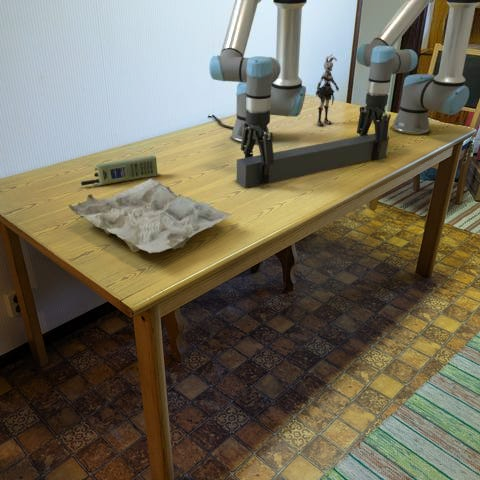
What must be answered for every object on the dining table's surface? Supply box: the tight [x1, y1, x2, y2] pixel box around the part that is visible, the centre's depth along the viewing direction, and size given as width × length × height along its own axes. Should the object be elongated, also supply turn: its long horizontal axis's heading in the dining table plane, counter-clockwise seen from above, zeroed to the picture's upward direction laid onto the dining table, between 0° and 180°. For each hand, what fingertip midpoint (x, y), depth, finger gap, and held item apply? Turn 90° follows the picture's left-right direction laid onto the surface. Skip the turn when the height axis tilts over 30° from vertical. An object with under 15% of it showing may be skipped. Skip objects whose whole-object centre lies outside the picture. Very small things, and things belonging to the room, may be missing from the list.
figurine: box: [315, 53, 340, 127], centre depth 218 cm, size 15×6×30 cm, turn 132°
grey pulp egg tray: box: [68, 178, 232, 254], centre depth 138 cm, size 38×6×30 cm
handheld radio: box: [80, 155, 159, 187], centre depth 164 cm, size 7×3×25 cm
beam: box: [236, 133, 390, 188], centre depth 176 cm, size 61×6×8 cm, turn 119°
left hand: (256, 178), depth 167 cm, fingers open, 9 cm apart
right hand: (368, 156), depth 188 cm, fingers closed on beam, 6 cm apart
